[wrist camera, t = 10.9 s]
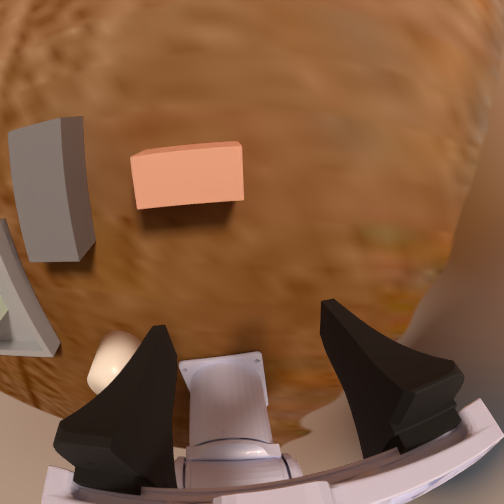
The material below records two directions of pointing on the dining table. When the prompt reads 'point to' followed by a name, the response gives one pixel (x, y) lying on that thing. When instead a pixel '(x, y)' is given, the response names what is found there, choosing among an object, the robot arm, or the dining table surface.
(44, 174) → the grey rectangular block
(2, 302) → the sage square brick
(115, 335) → the cream round brick
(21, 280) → the grey tray
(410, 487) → the robot arm
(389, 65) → the dining table surface
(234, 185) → the terracotta slim brick
